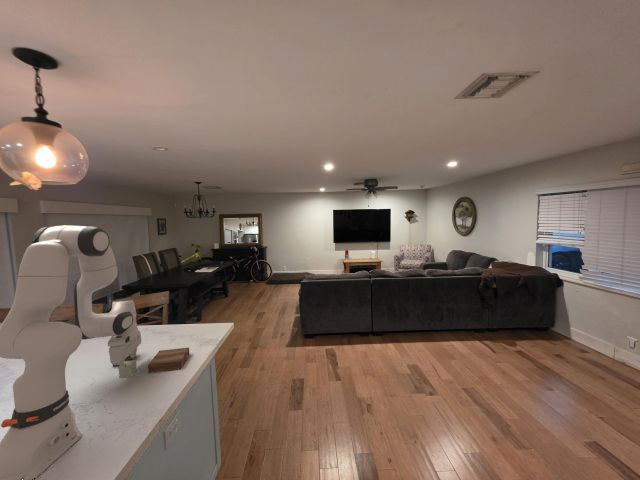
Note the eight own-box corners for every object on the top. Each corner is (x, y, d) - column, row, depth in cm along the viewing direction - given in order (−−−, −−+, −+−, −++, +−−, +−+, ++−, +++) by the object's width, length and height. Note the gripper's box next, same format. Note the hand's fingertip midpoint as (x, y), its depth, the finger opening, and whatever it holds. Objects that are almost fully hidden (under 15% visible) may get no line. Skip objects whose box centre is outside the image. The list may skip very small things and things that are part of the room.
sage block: (131, 376, 120) (130, 365, 120) (119, 377, 119) (118, 367, 119) (137, 370, 125) (136, 360, 125) (125, 371, 124) (124, 361, 124)
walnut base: (181, 369, 125) (180, 361, 125) (148, 373, 122) (147, 365, 122) (189, 354, 139) (189, 347, 138) (159, 358, 136) (159, 350, 136)
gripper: (129, 325, 131) (132, 352, 132) (104, 344, 111) (108, 376, 112) (143, 324, 132) (146, 351, 133) (122, 343, 112) (124, 374, 113)
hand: (128, 362), depth 122 cm, fingers open, 8 cm apart
